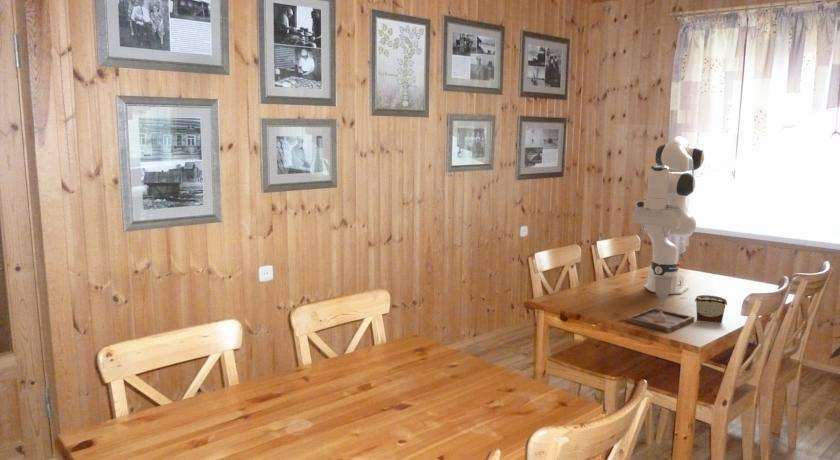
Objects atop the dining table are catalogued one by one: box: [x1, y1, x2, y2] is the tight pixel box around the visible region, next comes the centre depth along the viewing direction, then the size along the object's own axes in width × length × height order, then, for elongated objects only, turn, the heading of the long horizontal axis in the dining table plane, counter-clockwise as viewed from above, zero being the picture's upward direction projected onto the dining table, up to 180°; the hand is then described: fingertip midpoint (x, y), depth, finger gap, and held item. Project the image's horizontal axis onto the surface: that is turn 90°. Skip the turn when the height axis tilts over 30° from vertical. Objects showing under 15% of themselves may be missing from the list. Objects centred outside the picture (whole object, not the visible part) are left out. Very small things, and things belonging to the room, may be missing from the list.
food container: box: [694, 294, 728, 324], centre depth 260 cm, size 12×6×10 cm, turn 71°
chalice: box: [654, 276, 673, 322], centre depth 256 cm, size 7×7×18 cm
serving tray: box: [626, 307, 695, 334], centre depth 258 cm, size 22×18×2 cm
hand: (655, 235), depth 268 cm, fingers open, 8 cm apart
